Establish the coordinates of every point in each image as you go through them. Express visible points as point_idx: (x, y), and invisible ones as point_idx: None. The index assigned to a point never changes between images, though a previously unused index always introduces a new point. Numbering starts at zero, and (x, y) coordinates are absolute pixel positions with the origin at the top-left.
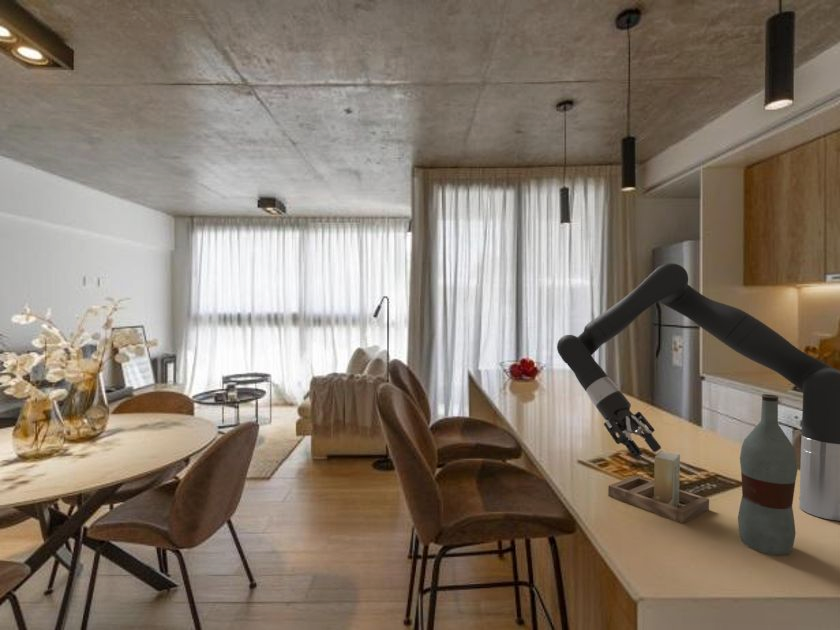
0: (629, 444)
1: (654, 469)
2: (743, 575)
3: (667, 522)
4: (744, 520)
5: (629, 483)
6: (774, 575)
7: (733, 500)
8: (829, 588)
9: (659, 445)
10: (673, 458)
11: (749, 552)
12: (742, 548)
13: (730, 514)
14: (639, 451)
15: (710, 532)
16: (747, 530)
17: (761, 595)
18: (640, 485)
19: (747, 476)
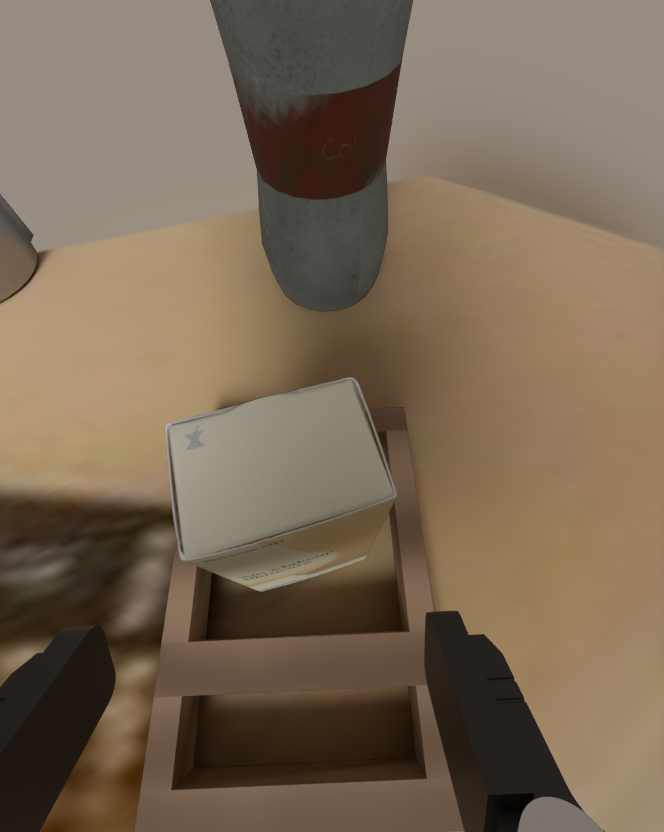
0: (554, 776)
1: (383, 521)
2: (513, 248)
3: (438, 455)
4: (379, 238)
5: (284, 780)
6: (451, 226)
7: (47, 429)
8: (405, 181)
9: (58, 643)
10: (310, 398)
11: (399, 276)
12: (394, 289)
13: (193, 384)
14: (463, 627)
15: (379, 359)
16: (383, 251)
17: (547, 214)
18: (188, 759)
19: (396, 68)
